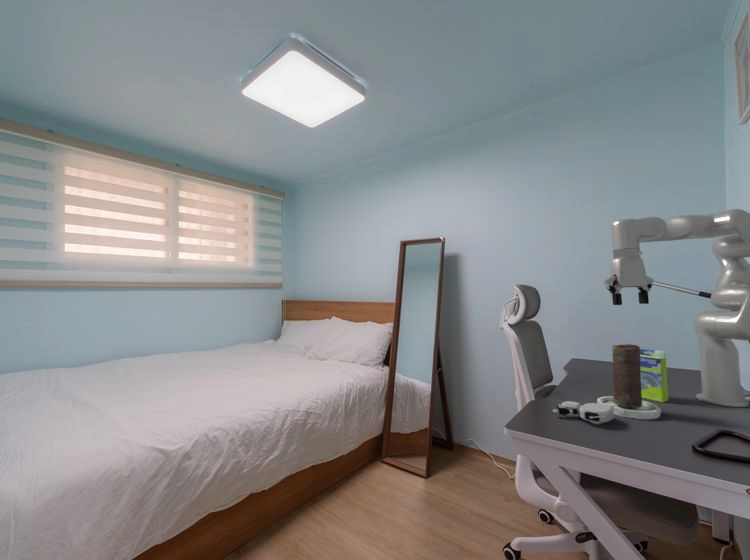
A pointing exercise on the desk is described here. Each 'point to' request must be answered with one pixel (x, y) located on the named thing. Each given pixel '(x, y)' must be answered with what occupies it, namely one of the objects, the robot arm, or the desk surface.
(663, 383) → the box
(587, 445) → the desk surface
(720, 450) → the desk surface
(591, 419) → the robot toy
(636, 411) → the dish
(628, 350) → the rusty brown cylinder
